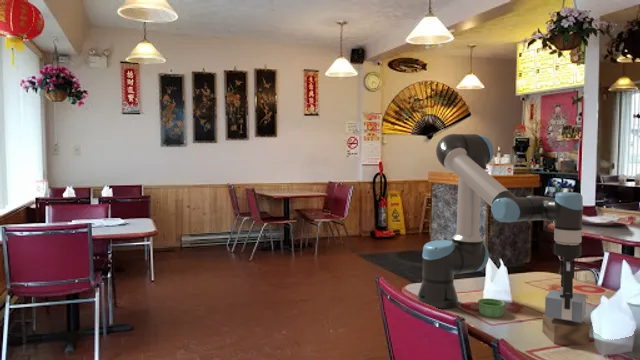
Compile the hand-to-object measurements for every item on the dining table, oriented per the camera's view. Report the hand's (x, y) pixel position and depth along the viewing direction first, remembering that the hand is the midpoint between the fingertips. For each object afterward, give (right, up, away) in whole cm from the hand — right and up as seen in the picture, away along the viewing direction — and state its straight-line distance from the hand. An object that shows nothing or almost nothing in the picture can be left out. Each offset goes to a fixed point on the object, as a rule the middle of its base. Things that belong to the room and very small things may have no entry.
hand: (565, 313), depth 150 cm
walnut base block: (0, -8, +1) cm, 8 cm away
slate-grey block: (0, 0, 0) cm, 1 cm away
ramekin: (-15, -7, +24) cm, 29 cm away
